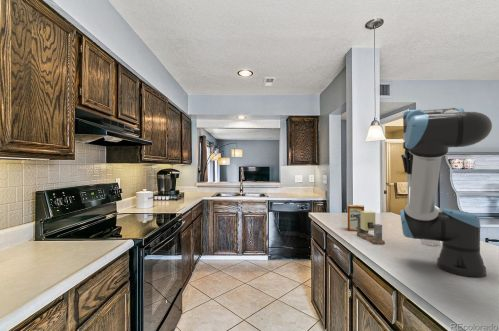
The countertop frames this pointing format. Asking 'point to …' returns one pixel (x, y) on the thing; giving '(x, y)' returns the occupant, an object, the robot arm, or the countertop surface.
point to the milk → (431, 242)
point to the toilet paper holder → (365, 235)
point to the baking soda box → (354, 216)
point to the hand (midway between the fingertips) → (411, 186)
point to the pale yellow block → (367, 220)
